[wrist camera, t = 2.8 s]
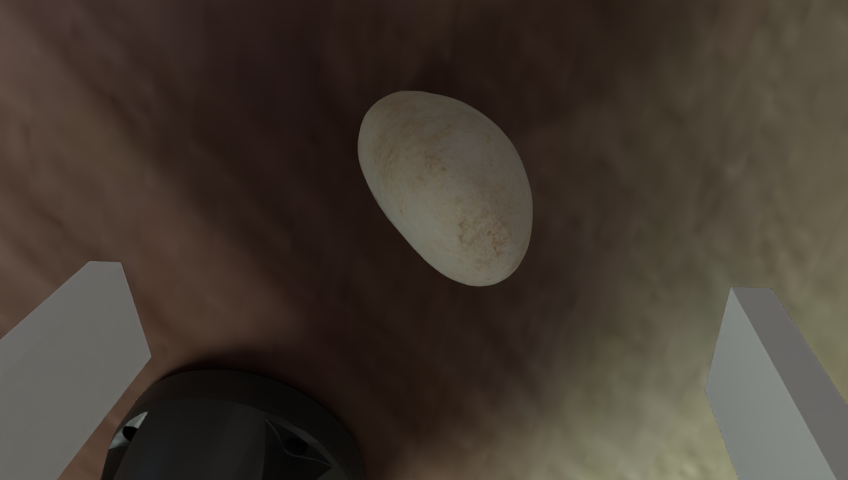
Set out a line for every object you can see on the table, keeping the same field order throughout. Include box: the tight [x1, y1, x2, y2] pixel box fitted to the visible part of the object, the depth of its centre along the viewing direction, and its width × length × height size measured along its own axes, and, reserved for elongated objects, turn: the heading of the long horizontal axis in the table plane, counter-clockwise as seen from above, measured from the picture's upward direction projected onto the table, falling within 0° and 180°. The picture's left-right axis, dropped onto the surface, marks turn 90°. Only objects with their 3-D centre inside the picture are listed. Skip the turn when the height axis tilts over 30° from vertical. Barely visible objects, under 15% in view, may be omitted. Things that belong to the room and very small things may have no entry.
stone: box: [358, 91, 533, 286], centre depth 21 cm, size 6×6×12 cm
